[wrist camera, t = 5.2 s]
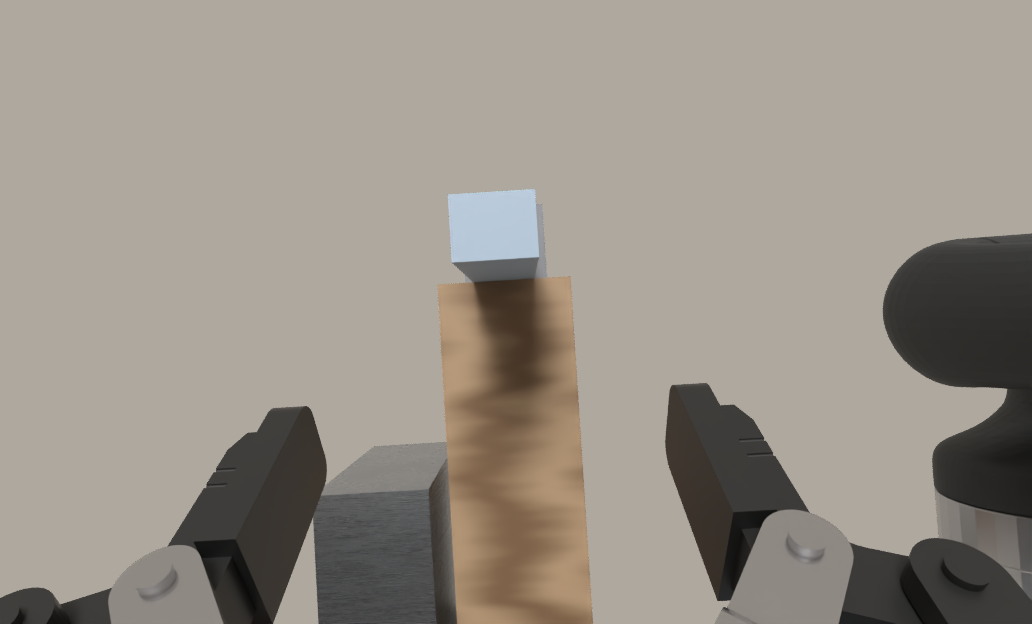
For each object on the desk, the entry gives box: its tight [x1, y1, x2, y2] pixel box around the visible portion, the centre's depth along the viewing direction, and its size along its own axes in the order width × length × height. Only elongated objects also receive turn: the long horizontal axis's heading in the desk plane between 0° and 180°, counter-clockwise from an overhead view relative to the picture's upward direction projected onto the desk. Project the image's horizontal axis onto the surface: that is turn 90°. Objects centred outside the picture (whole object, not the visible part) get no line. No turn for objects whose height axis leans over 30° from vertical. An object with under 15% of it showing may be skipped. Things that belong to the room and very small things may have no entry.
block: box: [448, 189, 547, 283], centre depth 30 cm, size 5×19×5 cm, turn 179°
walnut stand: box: [438, 276, 593, 624], centre depth 34 cm, size 7×10×32 cm
